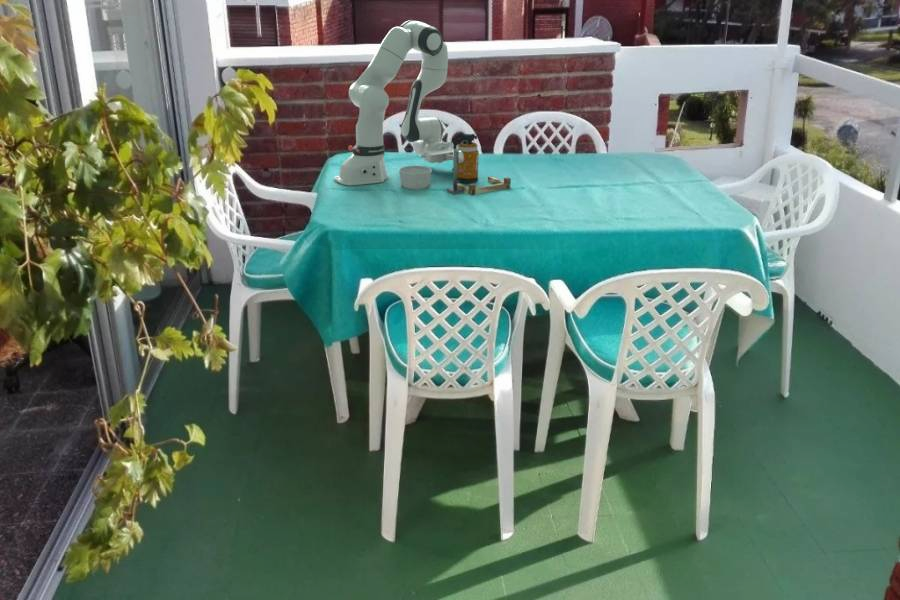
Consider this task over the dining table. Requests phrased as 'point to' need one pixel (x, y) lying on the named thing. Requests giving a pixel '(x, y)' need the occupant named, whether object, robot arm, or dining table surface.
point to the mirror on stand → (458, 158)
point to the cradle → (498, 186)
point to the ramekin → (415, 177)
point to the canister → (467, 158)
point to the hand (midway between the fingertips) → (457, 158)
